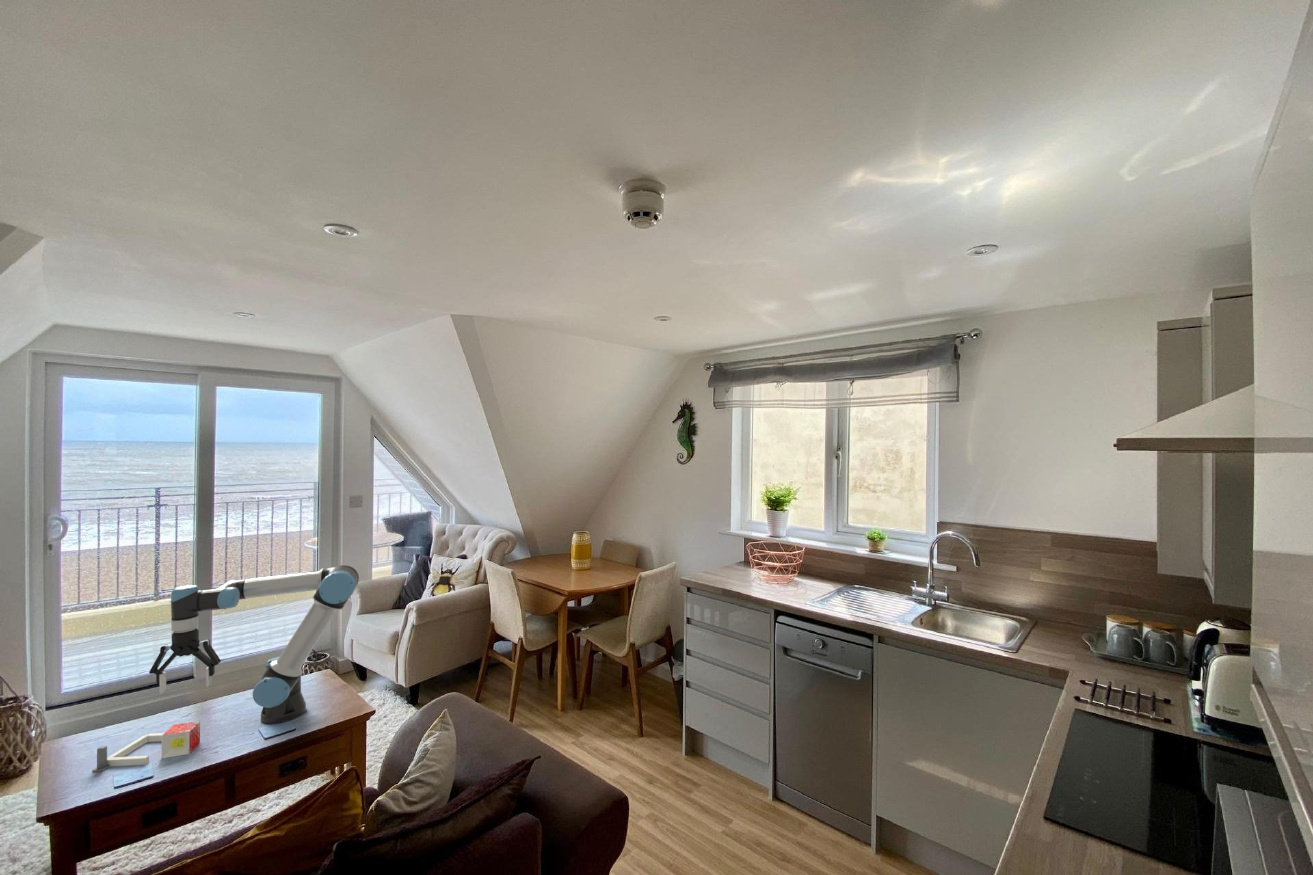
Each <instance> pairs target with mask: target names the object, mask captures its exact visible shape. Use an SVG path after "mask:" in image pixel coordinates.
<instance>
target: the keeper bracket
mask: <svg viewBox="0 0 1313 875" xmlns="http://www.w3.org/2000/svg"><path fill="white" fill-rule="evenodd" d="M164 733H165V732H158V733H148V734H145V735H142V736H141V737H139V738H137V739H136V740H134V741H133V742H131V743H129V744H127V745H126V746H124V747H122V748H120V749H119V750H117V751H116V752H114V753H112V754H111V755H109V756H108V746H107V745H102V746H99V747H97V748H96V767H95V768H93V769H92V770H91V772H92V773H96V772H97V773H98V772H104V771H106V770H107V769H109V768H110V767H111V768H112V767H126V766H127V767H129V766H143V765H144V766H145V765H147V764H148V763H150V755H138V756H137V755H134V756H127V755H129V754H130V753H131V752H134V751H136V750H137V749H139V748H140V747H141V746H144V745H145V744H147V743H155V742H156V743H157V742H162V735H163V734H164Z"/></svg>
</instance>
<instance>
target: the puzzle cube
mask: <svg viewBox="0 0 1313 875" xmlns="http://www.w3.org/2000/svg"><path fill="white" fill-rule="evenodd" d="M163 733H164V734H163V735H162V741H161V759H164V758H173V757H178V756H184V755H190V754H191V753H192V752H193V750H195V749H196V747H197V746H198V745H199V744H200V743H201V721H200V720H198V721H197V720H196V721H189V722H183V723H177V724H173V725H172V726H170V727H169V728H168V729H167V730H166V731H165V732H163Z"/></svg>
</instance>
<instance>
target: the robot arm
mask: <svg viewBox="0 0 1313 875" xmlns="http://www.w3.org/2000/svg"><path fill="white" fill-rule="evenodd" d="M359 578H360V576H359V573H358V571H357V570H356V569H355V568H354V567H352V566H350V565H347V564H345V565H343V564H342V565H337V566H330V567H324V568H323V567H322V568H321V569H320V570H317V571H311V572H310V571H309V572H300V573H293V574H283V575H275V576H265V577H256V578H248V579H239V578H233V579H229V580H228V581H224V583H222V584H221V585H219V586H218V587H216V588H214V589H204V590H203V589H200V590H199V586H198V585H196V584H193V585H192V584H191V585H190V584H189V585H182V586H178V587H176V588H174V589H172V590H171V597H170V612H171V614H170V615H171V620H170V621H171V626H170V627H171V644H167V643H165V644H164V645H162V646H160V649H159V650H160V651H159V654H158V656H157V658H156V659H155V660H154V663H153V664H152V665H151V666H152V667H151V668H150V669H149V674H152V675H153V674H154V675H156V677H155V680H156V684H159V694H162V693H164V692H165V691H166V690H167V671H165V670H166V669H167V668H168V666H169V665H170V664H171V663H172V662H173V661H174V660H175V658H176V657H179V658H180V657H184V656H185V657H189V656H191V655H192V656H194V657H196V659H198V660H199V661H200V662H201V663H203V664H204V665H205V666H206V668H205V686H206V688H207V687H209V686H211V685H212V684H213V682H212V680H213V676H214V675H215V673H216V671H215V669H216V666H218V665H219V664H220V663H221V659H220V657H219V656H218V654H217V652H216V651H215V649H214V648H213V647H212V645H211V641H210V639H209V638H207V639H205V640H201V641H200V639H199V638H200V631H199V630H200V629H199V626H200V624H199V622H200V620H199V619H200V617H199V616H200V615H199V612H207V611H208V612H209V611H217V610H227V609H232V608H236V607H237V606H238V604H239V602H240V600H241V601H242V600H247V599H256V598H263V597H264V598H265V597H269V596H270V597H271V596H278V595H279V596H281V595H287V594H296V593H304V592H312V591H315V593H314V595H313V596H312V599H313V604H312V606H311V607H310V609H309V610H308V612H307V613H306V615H305V616H304V617H303V620H302V621H301V622H300V625H299V626H298V628H297V629H296V631H295V632H294V634H293V635H292V637H291V638H290V640H289V642H288V643H287V645H286V646H285V648H284V649H283V651H282V652H281V654H280V656H275V657H271V658H270V659H268V660H267V661H266V665H265V669H266V670H265V671H264V673H263V674H262V676H261V678H260V679H259V680H258V682H257V683H256V684H255V685H254V686H253V690H252V699H253V702H255V704H257V705H258V706H260V707H261V708H262V709H261V713H260V722H262V723H264V724H278V723H285V722H287V721H290V720H293V719H296V718H299V717H300V716H302V715H303V714H304V713H305V712H306V710H307V704H306V703H307V702H306V701H305V699H304V695H303V693H302V674H303V671H302V666H303V665H304V663H305V661H306V659H307V658H308V657H309V655H310V653H311V652H312V651H313V649H314V647H315V645H316V644H317V642H318V641H319V640H320V638H321V636H322V634H323V633H324V631H325V630H326V628H327V627H328V625H329V623H330V622H331V620H332V618H333V617H334V615H335V613H336V612H338V611H340V610H342V609H343V608H344V606H345V605H346V604H347V602H348V601H349V599H350V597H351V596H352V595H353V594H354V592H355V589H356V587H357V586H358V583H359ZM200 646H201V647H202V648H203V650H204V651H205V653H206V654H205V653H204V652H203V651H202V650H201V649H200ZM169 650H171V651H172V654H171V655H170V656H169V657H168V658H167V660H165V661H164V662H163V663H162V661H163V660H164V658H165V657H166V655H167V653H168V652H169ZM161 663H162V665H161ZM160 665H161V666H160Z"/></svg>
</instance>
